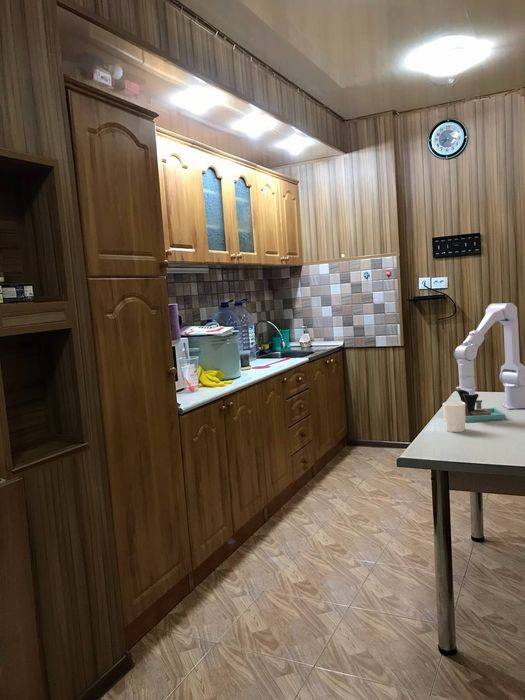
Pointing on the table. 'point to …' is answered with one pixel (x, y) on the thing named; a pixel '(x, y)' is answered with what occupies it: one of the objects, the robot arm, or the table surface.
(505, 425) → the table surface
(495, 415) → the tray
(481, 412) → the collar
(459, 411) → the white cup
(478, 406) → the stake
